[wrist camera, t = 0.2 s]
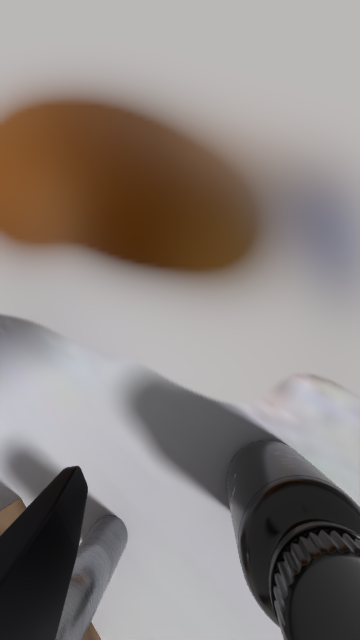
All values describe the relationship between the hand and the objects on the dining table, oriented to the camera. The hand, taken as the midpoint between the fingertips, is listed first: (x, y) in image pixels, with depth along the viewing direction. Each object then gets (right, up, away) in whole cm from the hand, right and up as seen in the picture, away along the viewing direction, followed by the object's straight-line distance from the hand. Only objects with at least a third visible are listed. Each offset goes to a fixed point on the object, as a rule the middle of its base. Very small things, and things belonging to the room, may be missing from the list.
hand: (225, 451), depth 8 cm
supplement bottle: (+6, -9, +13) cm, 17 cm away
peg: (-7, -13, +13) cm, 20 cm away
